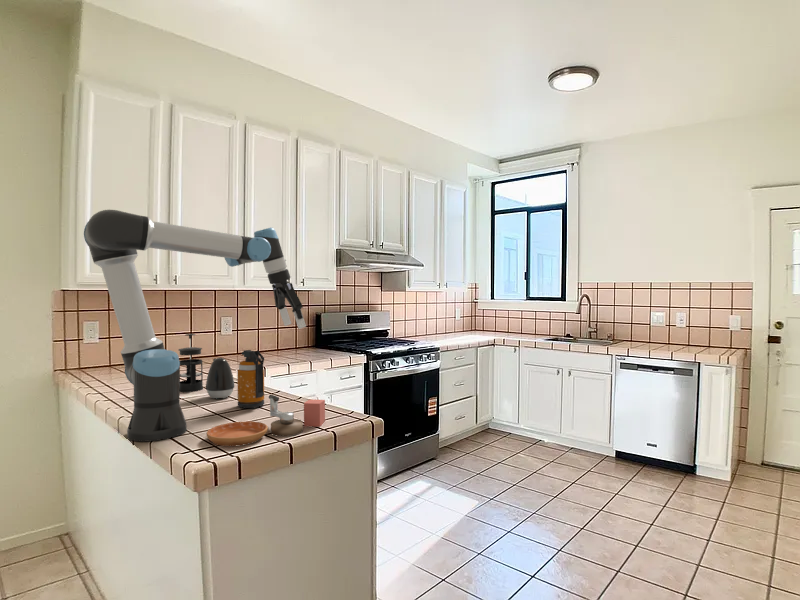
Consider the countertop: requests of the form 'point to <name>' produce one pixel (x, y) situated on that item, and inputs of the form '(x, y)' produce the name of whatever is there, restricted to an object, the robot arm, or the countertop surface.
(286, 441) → the countertop surface
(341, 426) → the countertop surface
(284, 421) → the crank
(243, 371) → the canister
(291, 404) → the countertop surface
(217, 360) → the black rounded egg shape
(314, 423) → the block
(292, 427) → the hub plate
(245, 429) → the saucer
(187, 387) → the french press
